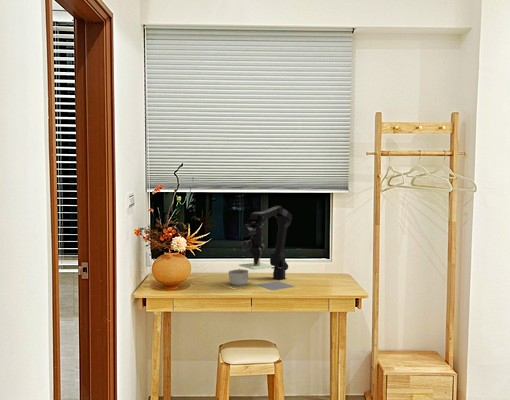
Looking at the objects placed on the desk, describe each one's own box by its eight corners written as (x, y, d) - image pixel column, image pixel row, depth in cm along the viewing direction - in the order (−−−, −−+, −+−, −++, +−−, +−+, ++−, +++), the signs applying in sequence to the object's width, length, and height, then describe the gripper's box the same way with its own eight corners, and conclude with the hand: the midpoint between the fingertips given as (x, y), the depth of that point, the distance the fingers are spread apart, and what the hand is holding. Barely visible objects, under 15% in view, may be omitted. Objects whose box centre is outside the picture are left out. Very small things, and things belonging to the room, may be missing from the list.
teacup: (245, 287, 314) (245, 273, 314) (226, 286, 316) (226, 272, 316) (251, 282, 328) (251, 268, 327) (232, 281, 330) (232, 267, 329)
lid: (258, 263, 329) (259, 255, 328) (274, 267, 318) (274, 258, 317) (238, 265, 320) (239, 257, 320) (254, 269, 309) (254, 261, 309)
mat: (277, 282, 329) (277, 281, 329) (295, 287, 316) (295, 286, 316) (255, 285, 320) (255, 284, 320) (272, 291, 307) (272, 290, 307)
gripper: (245, 232, 328) (244, 260, 329) (239, 237, 310) (239, 266, 311) (264, 233, 327) (264, 261, 328) (260, 238, 308) (260, 267, 309)
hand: (256, 263), depth 319 cm, fingers closed on lid, 3 cm apart
